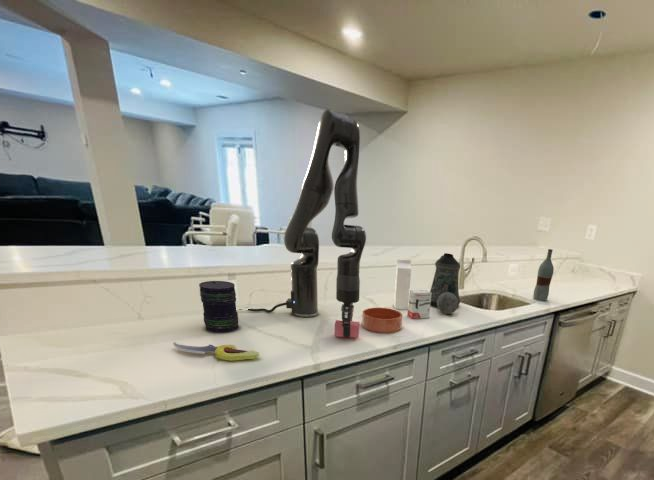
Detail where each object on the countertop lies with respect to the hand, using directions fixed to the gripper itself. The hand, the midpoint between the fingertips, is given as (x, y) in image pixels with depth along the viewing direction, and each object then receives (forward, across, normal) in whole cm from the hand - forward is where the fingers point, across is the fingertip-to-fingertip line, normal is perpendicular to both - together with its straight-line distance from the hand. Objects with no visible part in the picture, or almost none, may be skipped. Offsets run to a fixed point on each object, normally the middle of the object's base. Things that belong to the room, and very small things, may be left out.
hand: (347, 334), depth 136 cm
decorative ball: (+1, -38, +42) cm, 57 cm away
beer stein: (+2, -54, +42) cm, 69 cm away
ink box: (+1, -30, +28) cm, 41 cm away
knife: (+2, +19, -36) cm, 40 cm away
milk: (+2, -43, +21) cm, 48 cm away
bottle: (+1, -83, +108) cm, 136 cm away
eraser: (0, 0, 0) cm, 0 cm away
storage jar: (+2, -3, -41) cm, 41 cm away
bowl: (+1, -14, +12) cm, 19 cm away
